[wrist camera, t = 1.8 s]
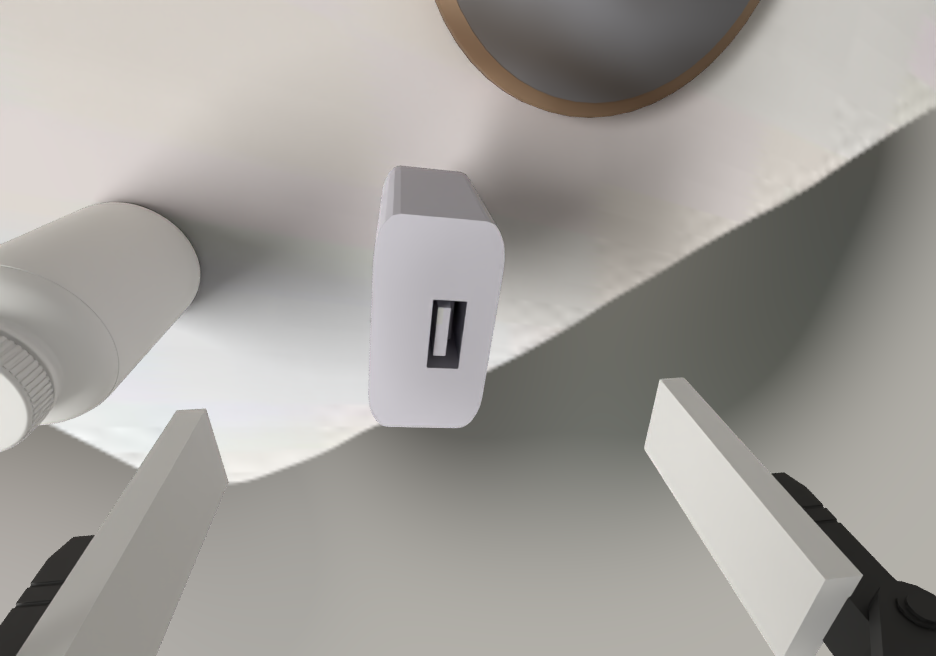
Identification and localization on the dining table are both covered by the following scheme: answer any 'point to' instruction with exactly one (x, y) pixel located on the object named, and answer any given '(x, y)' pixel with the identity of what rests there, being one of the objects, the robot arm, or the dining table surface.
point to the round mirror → (593, 48)
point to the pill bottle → (85, 309)
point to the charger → (432, 299)
